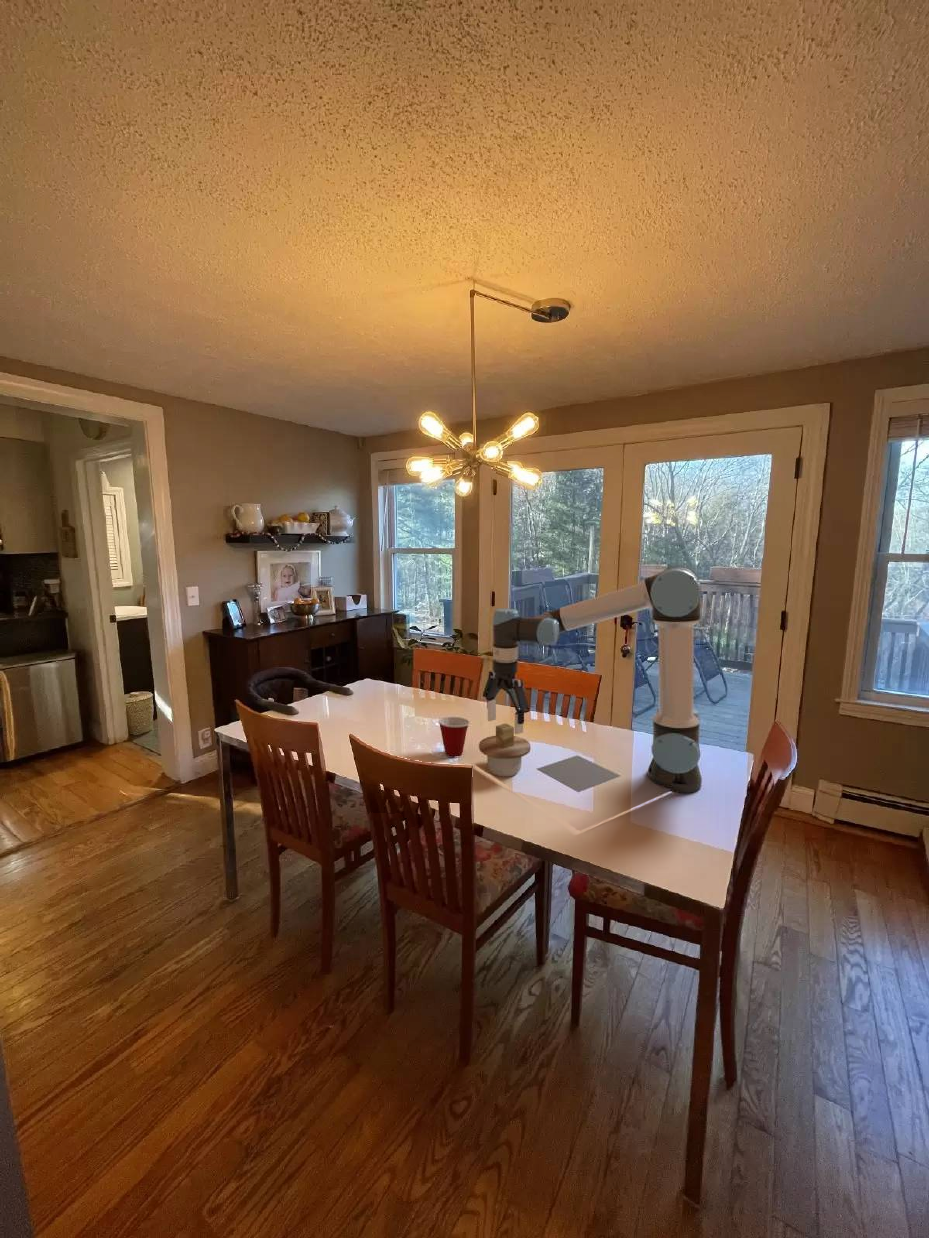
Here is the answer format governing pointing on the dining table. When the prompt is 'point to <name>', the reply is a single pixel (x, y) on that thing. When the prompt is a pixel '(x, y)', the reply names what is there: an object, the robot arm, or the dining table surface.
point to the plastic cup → (453, 734)
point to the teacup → (504, 766)
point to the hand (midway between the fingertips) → (504, 726)
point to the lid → (504, 744)
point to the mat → (578, 773)
